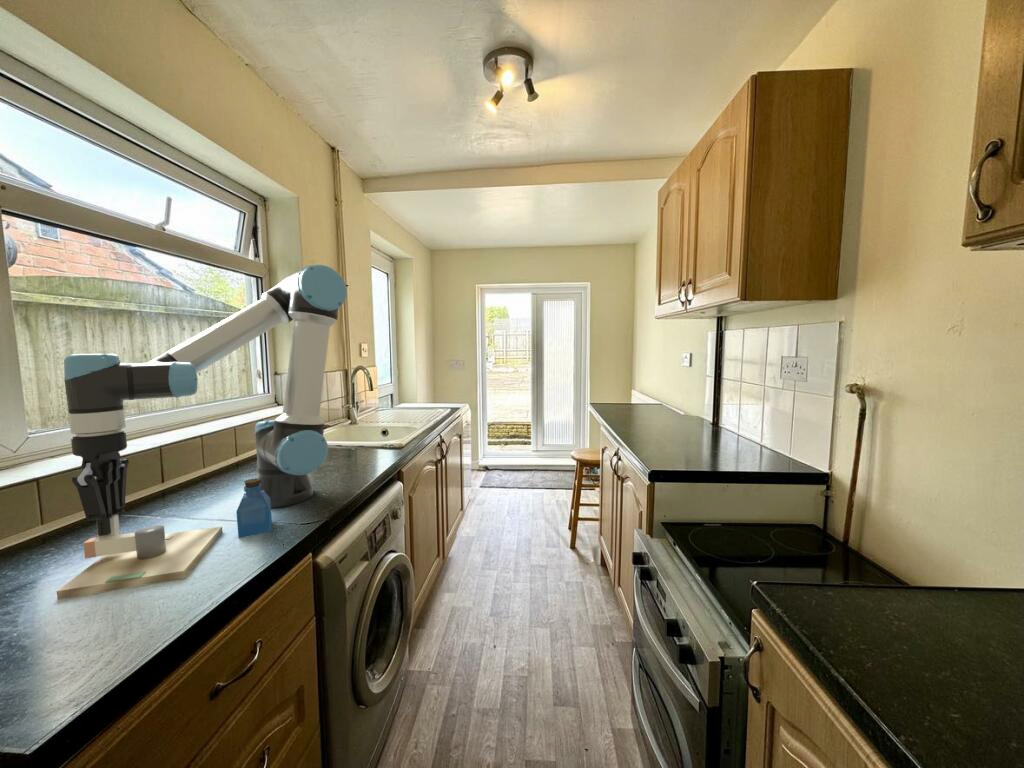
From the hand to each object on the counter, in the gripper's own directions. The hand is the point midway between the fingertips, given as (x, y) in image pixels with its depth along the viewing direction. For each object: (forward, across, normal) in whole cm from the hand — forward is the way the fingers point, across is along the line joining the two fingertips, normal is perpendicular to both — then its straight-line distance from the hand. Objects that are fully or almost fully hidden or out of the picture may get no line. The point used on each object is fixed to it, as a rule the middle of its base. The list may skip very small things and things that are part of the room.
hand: (110, 548), depth 80 cm
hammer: (+2, +2, +4) cm, 5 cm away
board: (+3, +2, +8) cm, 8 cm away
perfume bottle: (+3, -7, +24) cm, 25 cm away
